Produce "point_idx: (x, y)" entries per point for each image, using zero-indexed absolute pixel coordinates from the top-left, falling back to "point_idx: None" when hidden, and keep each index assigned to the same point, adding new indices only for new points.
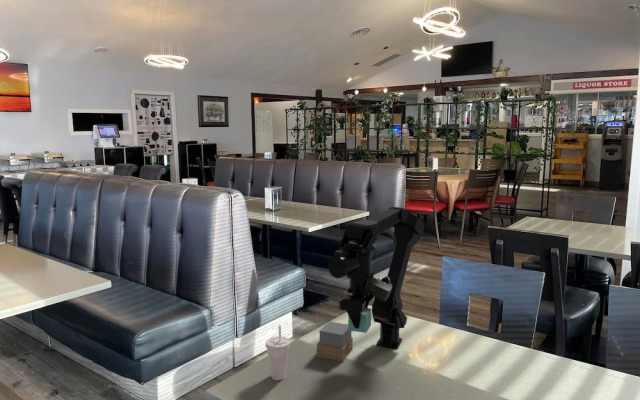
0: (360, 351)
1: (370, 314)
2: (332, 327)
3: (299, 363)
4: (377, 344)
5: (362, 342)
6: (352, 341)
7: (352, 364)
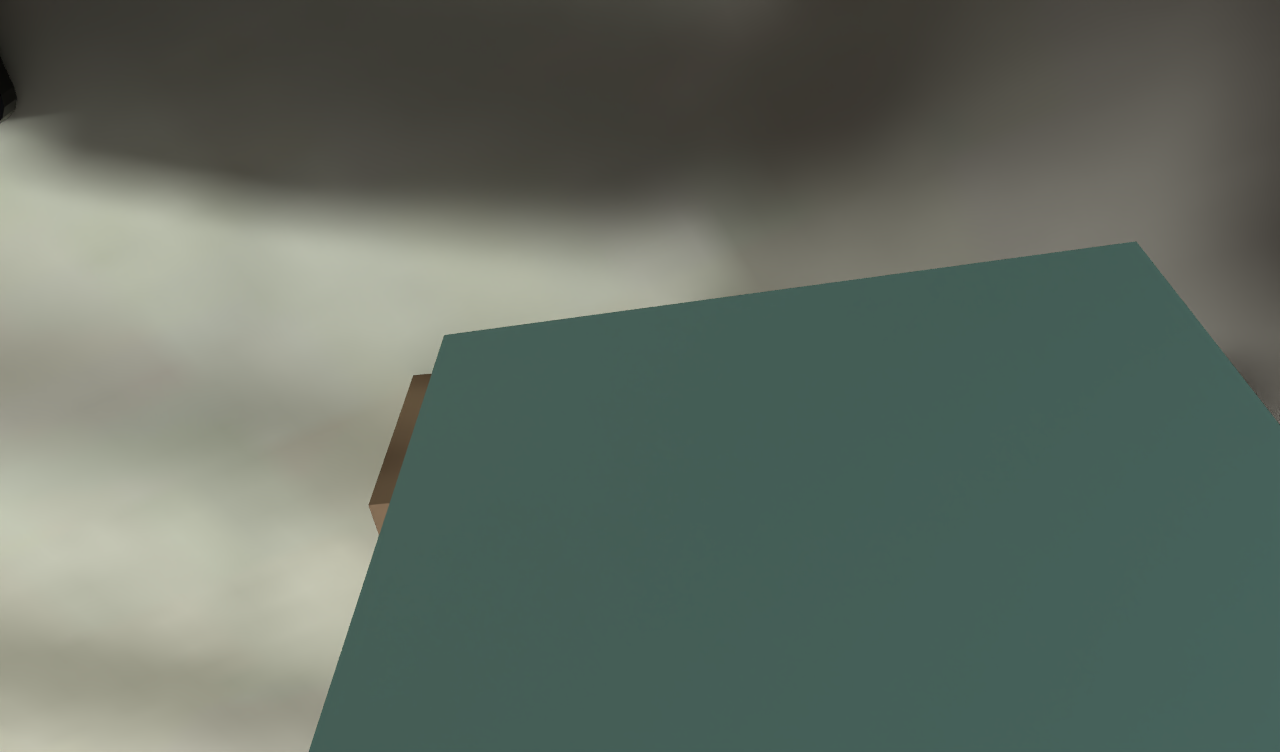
0: (401, 250)
1: (434, 701)
2: None
3: None
4: (9, 96)
5: (114, 342)
6: (392, 456)
7: (871, 182)
